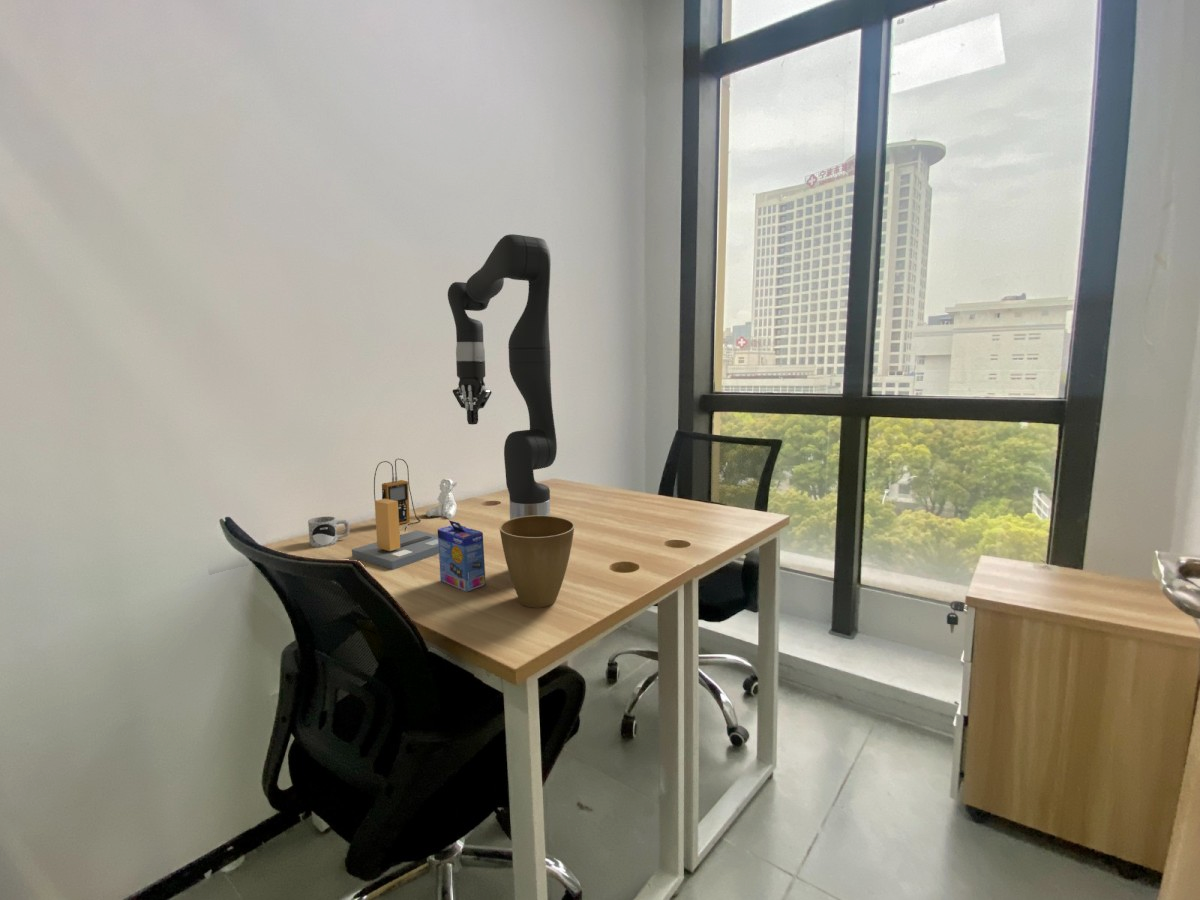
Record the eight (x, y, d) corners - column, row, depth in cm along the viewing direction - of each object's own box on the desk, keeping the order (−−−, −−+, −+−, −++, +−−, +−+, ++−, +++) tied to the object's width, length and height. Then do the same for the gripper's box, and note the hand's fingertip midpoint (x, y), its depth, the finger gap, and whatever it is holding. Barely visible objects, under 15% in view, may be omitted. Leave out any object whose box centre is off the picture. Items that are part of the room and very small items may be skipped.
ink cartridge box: (438, 581, 124) (435, 518, 122) (458, 574, 129) (456, 513, 126) (465, 593, 118) (463, 526, 116) (486, 585, 122) (484, 521, 120)
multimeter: (391, 535, 159) (388, 466, 156) (372, 529, 165) (368, 462, 162) (435, 523, 170) (432, 459, 167) (415, 518, 176) (412, 455, 173)
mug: (312, 549, 147) (310, 524, 146) (307, 542, 152) (306, 519, 151) (352, 542, 152) (351, 518, 152) (347, 536, 158) (345, 513, 157)
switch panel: (457, 546, 148) (456, 538, 148) (392, 569, 132) (392, 560, 131) (417, 537, 157) (416, 529, 157) (352, 557, 140) (351, 548, 140)
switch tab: (400, 547, 140) (397, 501, 138) (390, 551, 137) (387, 503, 135) (387, 544, 142) (385, 498, 141) (377, 547, 140) (374, 500, 138)
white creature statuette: (425, 516, 178) (423, 480, 176) (440, 510, 186) (439, 475, 185) (450, 519, 175) (449, 482, 173) (465, 512, 183) (464, 476, 182)
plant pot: (486, 604, 112) (483, 527, 110) (534, 581, 124) (533, 511, 122) (543, 623, 104) (542, 541, 102) (589, 596, 116) (588, 522, 114)
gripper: (442, 359, 150) (445, 424, 153) (478, 359, 143) (480, 426, 145) (463, 360, 156) (466, 421, 159) (498, 359, 149) (500, 424, 152)
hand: (472, 424), depth 152 cm, fingers closed
